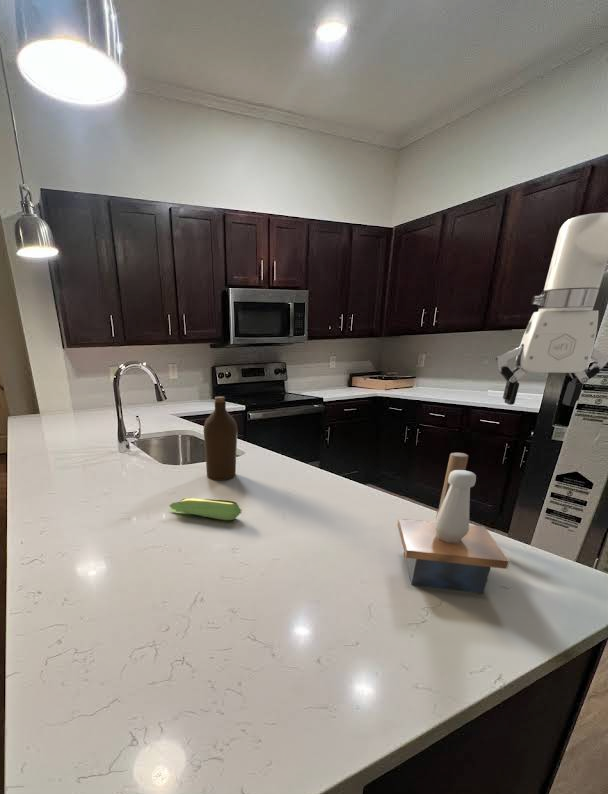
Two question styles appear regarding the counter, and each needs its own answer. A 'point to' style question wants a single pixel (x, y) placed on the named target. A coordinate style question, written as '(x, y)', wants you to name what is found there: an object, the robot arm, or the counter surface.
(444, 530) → the salt shaker
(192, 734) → the counter surface
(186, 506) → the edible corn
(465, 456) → the wooden block
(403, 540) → the stand
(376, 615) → the counter surface
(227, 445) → the olive oil
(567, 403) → the robot arm
